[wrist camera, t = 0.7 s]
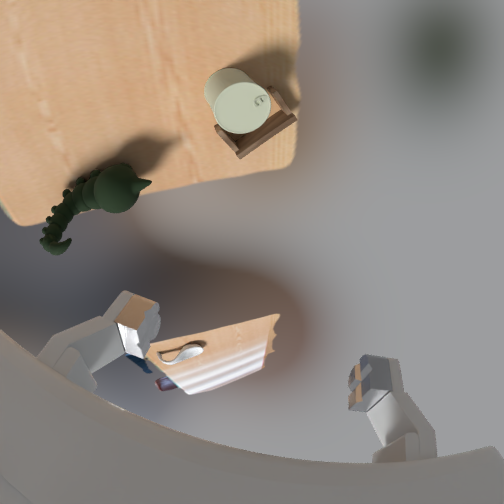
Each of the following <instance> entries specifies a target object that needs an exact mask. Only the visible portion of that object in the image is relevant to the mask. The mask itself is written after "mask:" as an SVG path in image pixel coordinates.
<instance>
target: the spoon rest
mask: <svg viewBox="0 0 504 504" xmlns="http://www.w3.org/2000/svg"><path fill="white" fill-rule="evenodd" d="M203 350H204V349H203V348H202V347H201V346H200V345H197V344H187V345H185V346H184V347H183V348H182V349H181V351H180V352H179V354H178V355H177V357H176V358H175V359H174V360H172V361H165V360H163V359H162V355H161V354H160V353H159V352H157V356H158V358H159V359H160V360H161V361H162V362H163V363H165V364H169V365H172V364H176V363H179V362H181V361H183V360H185V359H188V358H191V357H194V356H197V355H199V354H201V353H202V352H203Z"/></svg>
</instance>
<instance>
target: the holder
mask: <svg viewBox="0 0 504 504" xmlns="http://www.w3.org/2000/svg"><path fill="white" fill-rule="evenodd" d="M267 90H268V91H269V93H270V94H271V95H272V97H273V98H274V100H275V101H276V102H277V104H278V105H279V107H280V108H281V110H280V111H278V112H277V113H275V114H274V115H272V116H271V117H270V118H268V119H267V120H266V121H265V122H264V123H263V124H262V125H261V126H260V127H259V128H257V129H255V130H253V131H251V132H248V133H247V134H245V135H244V136H243V137H241V138H240V139H238V140H237V141H236V142H235V141H234V140H233V139H232V138H231V137H230V136H229V135H228V133H227V132H226V131H225V130H224V129H223V128H222V127H221V126H220V125H219V124H216V125H215V126H214V127H215V130H216V132H217V134H218V135H219V136H220V137H221V138H222V139H223V140H224V141H225V142H226V143H227V144H228V145H229V146H230V147H231V149H232V150H233V151H234V152H235V153H236V155H237V157H238V158H239V159H242V158H243V157H245V156H246V155H247V154H249V153H250V152H251V151H253V150H254V149H256V148H257V147H258V146H260V145H261V144H263V143H264V142H266V141H267V140H268V139H270V138H271V137H273V136H274V135H276V134H277V133H279V132H280V131H282V130H283V129H285V128H286V127H288V126H289V125H291V124H292V123H294V122H295V121H297V118H296V117H295V115H294V114H292V112H291V111H290V109H289V108H288V106H287V105H286V103H285V102H284V100H283V99H282V97H281V96H280V94H279V93H278V92H277V90H275V89H274V88H273V87H272V86H270V87H268V88H267Z"/></svg>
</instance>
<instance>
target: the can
mask: <svg viewBox="0 0 504 504" xmlns="http://www.w3.org/2000/svg"><path fill="white" fill-rule="evenodd" d="M204 95H205V98H206V100H207V102H208V103H209V105H210V107H211V109H212V111H213V113H214V116H215V119H216V121H217V123H218V124H219V125H220V126H221V127H222V128H223V129H224V130H226V131H228V132H231V133H237V134H243V133H248V132H251V131H253V130H255V129H257V128H259V127H260V126H261V125H262V124H263V123H264V122H265V121H266V119H267V118H268V116H269V114H270V110H271V101H270V97H269V95H268V93H267V92H266V91H265V89H264V88H262V87H261V86H259V85H258V84H256V83H255V82H254V81H253V80H251V79H250V78H249V77H248V75H247V74H246V73H244V72H243V71H241V70H239V69H235V68H225V69H221V70H219V71H217V72H215V73H214V74H212V75H211V76H210V77H209V79H208V80H207V82H206V84H205V88H204Z"/></svg>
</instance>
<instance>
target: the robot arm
mask: <svg viewBox="0 0 504 504" xmlns="http://www.w3.org/2000/svg"><path fill="white" fill-rule="evenodd" d="M158 311H159V303H157V302H154V301H151V300H149V299H146V298H143V297H141V296H138V295H136V294H133V293H130V292H128V291H123V292H122V293H121V294H120V295H119V296H118V298H117V299H116V300H115V301H114V302H113V304H112V305H111V306H110V308H109V309H108V310H107V311H106V313H105V314H104V316H103V317H101V316H98V317H96V318H93V319H91V320H89V321H86V322H84V323H81V324H79V325H77V326H74V327H72V328H69V329H67V330H65V331H62V332H60V333H58V334H55V335H53V336H52V338H51V339H50V340H49V341H48V343H47V344H46V345H45V347H44V348H43V349H42V351H41V352H40V353H39V355H38V356H37V357H35V356H33V355H32V354H31V353H29V352H28V351H27V350H25V349H24V348H23V347H21V346H20V345H19V344H17V343H16V342H15V341H14V340H12V339H11V338H10V337H9V336H7V335H6V334H5V333H4V332H3V331H2V330H1V329H0V504H504V459H503V457H502V456H501V454H500V453H499V452H498V450H497V449H496V448H495V447H493V446H488V447H484V448H480V449H476V450H472V451H468V452H463V453H459V454H454V455H448V456H443V457H437V448H436V438H435V430H434V429H433V427H432V426H431V425H430V423H429V422H428V421H427V419H426V418H425V417H424V415H423V414H422V412H421V411H420V410H419V408H418V407H417V406H416V404H415V403H414V402H413V400H412V399H411V397H410V396H409V395H408V393H405V392H404V388H403V382H402V375H401V370H400V364H399V361H398V359H394V358H386V357H380V356H374V355H366V354H365V355H363V356H362V357H361V358H360V364H358V365H355V366H354V367H353V369H352V370H351V373H350V376H349V381H348V387H349V388H350V390H351V391H352V392H351V394H350V395H349V398H348V399H349V410H352V411H361V412H367V415H368V417H369V419H370V421H371V423H372V425H373V427H374V429H375V431H376V433H377V435H378V437H379V439H380V441H381V443H382V445H383V448H382V449H380V450H378V451H377V452H375V453H374V454H373V458H372V463H337V462H322V461H310V460H301V459H292V458H285V457H279V456H273V455H267V454H262V453H256V452H251V451H247V450H242V449H238V448H233V447H229V446H226V445H222V444H218V443H214V442H211V441H207V440H204V439H201V438H197V437H194V436H191V435H188V434H185V433H182V432H179V431H176V430H173V429H171V428H168V427H165V426H163V425H160V424H157V423H155V422H152V421H150V420H147V419H145V418H143V417H140V416H138V415H136V414H133V413H131V412H129V411H127V410H125V409H123V408H121V407H118V406H116V405H114V404H112V403H110V402H108V401H106V400H104V399H102V398H101V397H99V396H97V395H95V394H93V393H94V391H95V389H96V387H97V383H96V381H95V380H94V378H93V376H92V375H91V373H93V372H95V371H96V370H98V369H100V368H101V367H103V366H105V365H106V364H108V363H109V362H111V361H113V360H114V359H116V358H118V357H119V356H121V355H122V354H124V353H125V352H127V353H129V354H132V355H135V356H137V357H140V358H142V359H144V357H145V355H146V353H147V351H148V350H149V348H150V342H149V341H150V340H152V339H154V338H155V337H156V335H157V333H158V331H159V328H160V316H159V315H158V313H157V312H158Z"/></svg>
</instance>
